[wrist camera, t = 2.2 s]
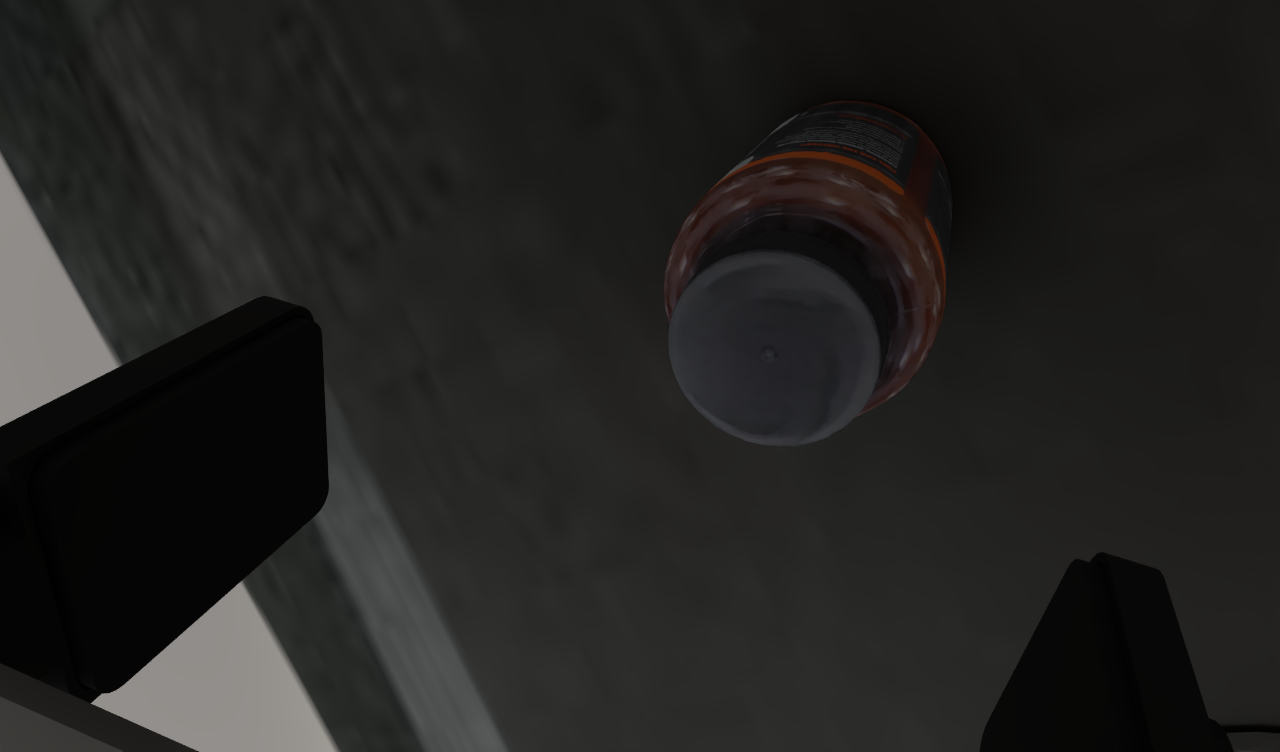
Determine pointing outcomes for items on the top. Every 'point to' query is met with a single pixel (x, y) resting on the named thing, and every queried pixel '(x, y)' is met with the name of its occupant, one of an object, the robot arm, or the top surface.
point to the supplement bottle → (811, 275)
